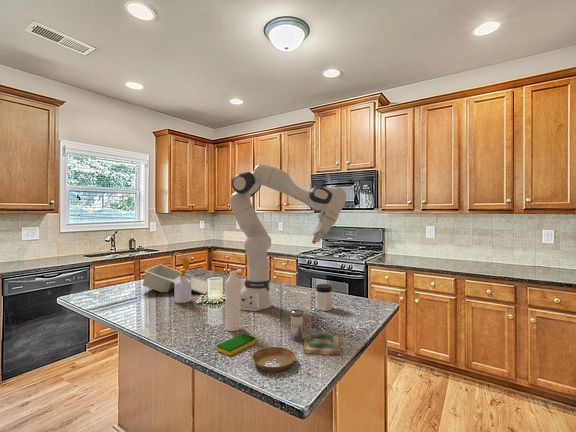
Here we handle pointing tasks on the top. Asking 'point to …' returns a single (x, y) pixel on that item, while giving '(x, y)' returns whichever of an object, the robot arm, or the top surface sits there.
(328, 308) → the jar
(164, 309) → the top surface
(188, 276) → the kitchen sink
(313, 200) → the robot arm
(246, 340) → the dish sponge
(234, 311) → the white spray bottle
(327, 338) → the post base
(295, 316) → the salt shaker
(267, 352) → the plant saucer
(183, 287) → the soap bottle
